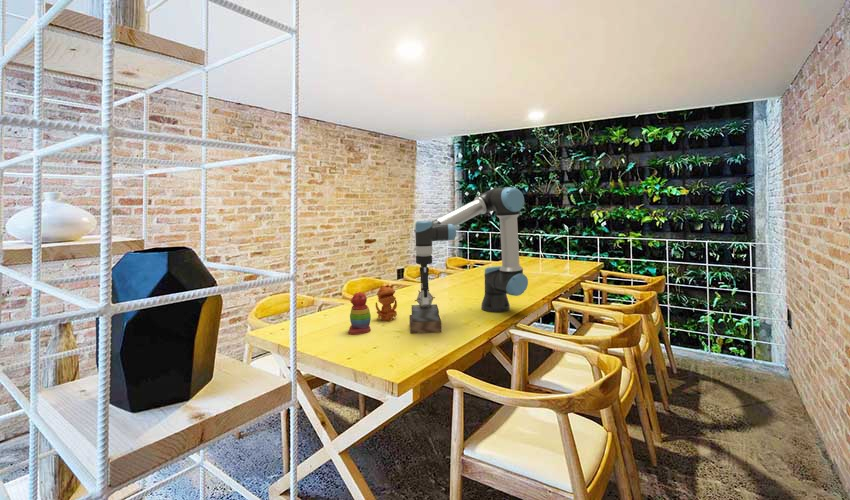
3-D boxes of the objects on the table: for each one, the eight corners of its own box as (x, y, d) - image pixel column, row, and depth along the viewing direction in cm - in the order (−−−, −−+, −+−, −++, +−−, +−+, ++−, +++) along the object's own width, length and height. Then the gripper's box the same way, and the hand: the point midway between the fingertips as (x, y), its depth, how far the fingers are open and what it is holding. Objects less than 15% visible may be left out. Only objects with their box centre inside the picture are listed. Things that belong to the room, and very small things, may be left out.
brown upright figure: (381, 323, 211) (380, 287, 209) (372, 318, 221) (371, 283, 219) (401, 320, 216) (401, 284, 214) (393, 315, 226) (392, 281, 224)
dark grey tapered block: (438, 324, 208) (438, 303, 207) (441, 332, 196) (441, 310, 194) (409, 325, 208) (409, 304, 206) (410, 333, 195) (409, 311, 194)
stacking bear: (349, 327, 205) (348, 290, 203) (371, 327, 206) (370, 290, 204) (347, 334, 194) (346, 295, 192) (370, 334, 195) (369, 295, 193)
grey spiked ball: (428, 316, 200) (432, 302, 193) (411, 309, 201) (414, 294, 194) (434, 302, 206) (438, 288, 200) (417, 296, 207) (421, 282, 201)
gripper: (414, 251, 210) (415, 294, 212) (416, 258, 185) (417, 307, 187) (430, 251, 210) (430, 294, 213) (434, 258, 185) (434, 307, 188)
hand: (424, 300), depth 200 cm, fingers open, 13 cm apart
